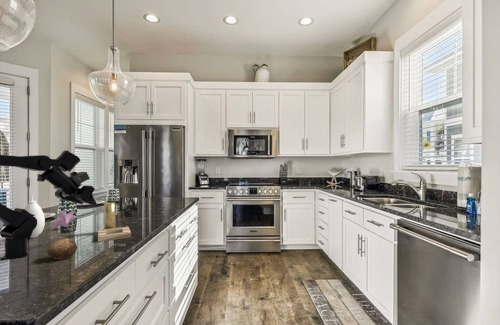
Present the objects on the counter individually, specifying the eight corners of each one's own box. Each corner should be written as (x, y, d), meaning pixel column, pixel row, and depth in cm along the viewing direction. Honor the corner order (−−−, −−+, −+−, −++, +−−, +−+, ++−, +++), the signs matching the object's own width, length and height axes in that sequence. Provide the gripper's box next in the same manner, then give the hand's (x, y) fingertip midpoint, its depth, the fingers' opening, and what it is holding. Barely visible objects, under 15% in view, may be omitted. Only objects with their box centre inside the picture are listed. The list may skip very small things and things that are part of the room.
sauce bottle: (49, 235, 112) (48, 193, 112) (29, 240, 105) (28, 196, 105) (36, 234, 114) (35, 193, 114) (15, 239, 107) (15, 196, 107)
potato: (53, 244, 90) (57, 231, 88) (78, 250, 93) (82, 238, 91) (40, 263, 83) (44, 249, 81) (67, 268, 86) (71, 256, 84)
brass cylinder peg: (115, 232, 117) (115, 203, 117) (104, 233, 115) (104, 204, 115) (115, 230, 121) (115, 202, 121) (104, 231, 119) (104, 203, 119)
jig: (131, 237, 109) (131, 232, 109) (98, 241, 103) (97, 236, 103) (128, 230, 119) (128, 226, 119) (98, 234, 113) (98, 230, 113)
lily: (82, 227, 131) (75, 211, 132) (81, 222, 122) (74, 206, 123) (56, 238, 124) (49, 221, 125) (54, 234, 115) (46, 216, 116)
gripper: (89, 165, 102) (115, 190, 112) (62, 165, 110) (88, 188, 120) (68, 187, 95) (98, 211, 105) (41, 185, 103) (71, 208, 113)
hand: (89, 204), depth 111 cm, fingers open, 9 cm apart
